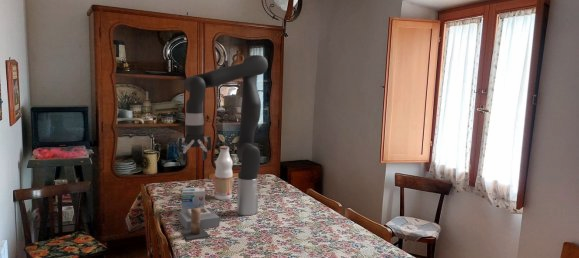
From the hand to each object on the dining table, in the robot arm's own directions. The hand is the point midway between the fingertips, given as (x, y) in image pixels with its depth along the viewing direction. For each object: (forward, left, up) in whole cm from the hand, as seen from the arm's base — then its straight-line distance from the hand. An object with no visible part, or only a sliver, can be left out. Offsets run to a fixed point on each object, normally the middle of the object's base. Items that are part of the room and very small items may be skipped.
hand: (194, 160), depth 163 cm
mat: (+3, +13, -28) cm, 31 cm away
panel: (-2, +1, -28) cm, 28 cm away
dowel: (+3, +13, -27) cm, 30 cm away
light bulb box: (-4, -15, -28) cm, 32 cm away
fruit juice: (-25, -31, -28) cm, 48 cm away
